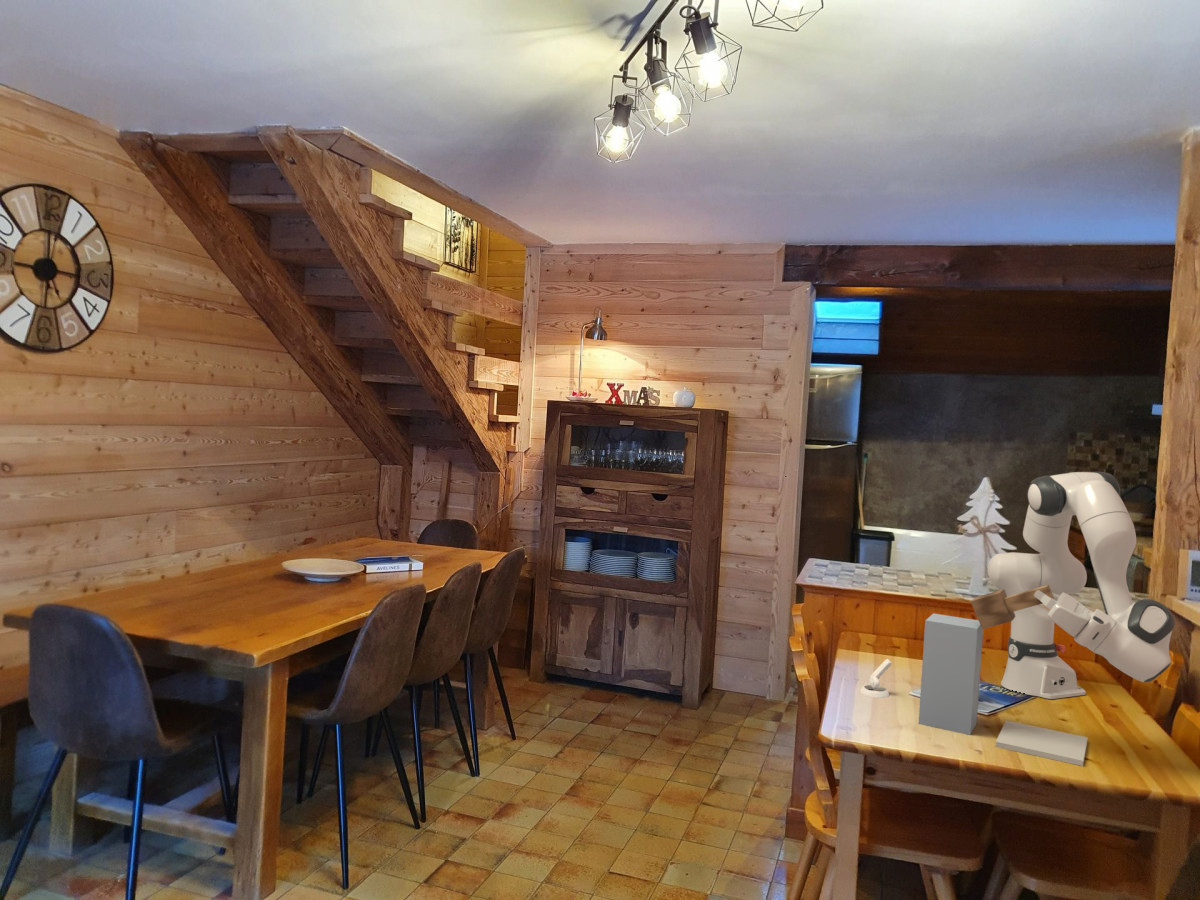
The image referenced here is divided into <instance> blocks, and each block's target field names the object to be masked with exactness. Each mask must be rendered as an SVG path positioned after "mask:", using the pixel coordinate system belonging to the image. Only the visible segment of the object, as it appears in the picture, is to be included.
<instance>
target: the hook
mask: <svg viewBox="0 0 1200 900" xmlns="http://www.w3.org/2000/svg"><path fill="white" fill-rule="evenodd" d="M892 664H893V663H892V662H891V660H890V659H888V658H886V659H885V660H884V661H883V662H882V663H881V664H880V665H879V666H878V667H877V668H876V669H875V671H873V673H872V674H871V675H870V676H869V678H868V679H869V680H868V682H869V683H868V684H864V685H862V686H861V688H860V691H861V693H862V694H861V693H860V694H861V695H863V694H864V695H863V696H865V695H866V696H865V697H868V696H870V697H869V698H873V697H875V698H874V699H886V698H885V697H887V698H889V697H890V693H889V690H888V688H886V687H884V686H882V685H880V684H881V683H880V680H879V679H880V678H881V677H882V676H883V674H885V673H886V671H888V669H890V667H891V666H892ZM868 689H873V690H868ZM878 690H879V691H878Z"/></svg>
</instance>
